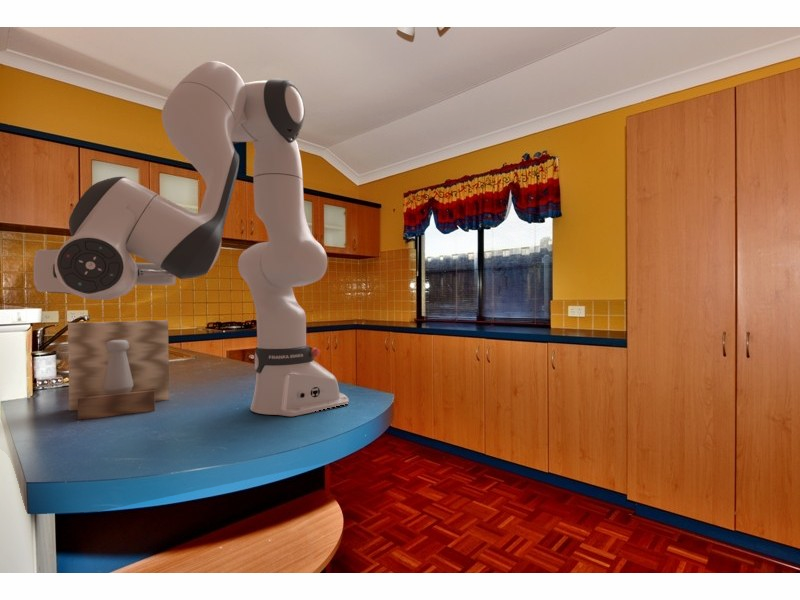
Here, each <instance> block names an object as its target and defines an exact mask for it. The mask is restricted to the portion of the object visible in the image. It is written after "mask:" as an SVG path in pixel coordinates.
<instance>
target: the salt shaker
mask: <svg viewBox="0 0 800 600" xmlns="http://www.w3.org/2000/svg"><path fill="white" fill-rule="evenodd" d="M128 348H129V343H128V341H126V340H112V341H109V342H107V345H106V349H107V351H110V355H109V360H108V365H107V370H106V375H105V380H104V384H103V389H104V391H105V393H106V395H112V394H121V393H130V392H131V390H132V388H133V380H132V375H131V371H130V367H129V363H128V358H127V354H126V350H127V349H128Z"/></svg>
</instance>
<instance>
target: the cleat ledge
mask: <svg viewBox="0 0 800 600" xmlns="http://www.w3.org/2000/svg"><path fill="white" fill-rule="evenodd" d="M155 410H156V401H155V389H151V390H141V391H131V392H130V393H121V394H112V395H106V394H102V395H92V396H85V397H82V398H78V410H77V420H78V421H82V420H81V419H83V420H90V418H91V419H97V418H105V417H107V418H108V417H115V416H120V415H121V416H122V415H123V416H124V415H130V414H131V415H132V414H138V413H146V412H147V413H148V412H154V411H155Z"/></svg>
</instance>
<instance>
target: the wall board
mask: <svg viewBox="0 0 800 600" xmlns="http://www.w3.org/2000/svg"><path fill="white" fill-rule="evenodd" d="M112 340H126V341H128V343H129V348H128V349H127V350H126V354H127V358H128V363H129V367H130V371H131V375H132V380H133V388H132V390H131V391H141V390H151V389H155V402H159V401H168V400H170V364H169V361H170V359H169V358H170V357H169V354H170V353H169V346H170V345H169V319H163V320H162V319H161V320H160V319H159V320H132V321H130V320H128V321H125V320H124V321H99V322H98V321H95V322H94V321H93V322H69V323H67V342H68V343H67V345H68V346H67V349H68V351H67V353H68V359H67V361H68V410H69V412H70V411H78V398H82V397H85V396H92V395H102V394H106V393H105V391H104V389H103V384H104V380H105V375H106V370H107V365H108V360H109V355H110V351H107V349H106V345H107V342H109V341H112Z"/></svg>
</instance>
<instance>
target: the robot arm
mask: <svg viewBox="0 0 800 600" xmlns="http://www.w3.org/2000/svg"><path fill="white" fill-rule="evenodd" d="M242 78H243V77H242V76H241V75H240V74H239V73H238V72H237V71H236V70H235V69H234V68H233V67H232V66H229V65H228V64H227V63H224V62H221V61H217V60H216V61H215V60H211V61H207V62H204V63H202V64H201V65H199V66H197V67H195V68H194V69H193V70H192V71H190V72H189V73H188V74H187V75H186V76H184V77H183V78H182V79H181V81H179V83H178V84H177V85H176V86H175V87H174V88H173V90H172V91H171V93H170V94H169V96H168V97H167V99H166V101H165V102H164V104H163V107H162V109H161V121H162V125H163V129H164V132H165V134H166V136H167V139H168V140H169V141H170V143H171V144H172V147H174V149H176V151H177V152H179V154H181V155H182V157H184V159H186V160H187V162H189V163H190V164H191V165H192V167H194V169H195V170H196V171H197V172H198V174H200V176H201V177H202V179H203V181H204V183H205V192H204V195H203V199H202V201H201V206H200V209H199V211H198V213H197V212H192V211H189V210H188V209H186V208H184V207H182V206H180V205H178V204H176V203H175V202H173V201H171V200H169V199H167V198H165V197H163V196H162V195H159V193H157V192H155V191H153V190H151V189H150V188H148V187H146V186H143V185H142V184H140V183H138V182H137V181H134V180H132V179H130V178H128V177H126V176H115V177H109V178H106V179H103V180H101V181H98V182H95V183H93V184H92V185H91V186H90V187H88V188H87V190H85V192H84V193H83V194H82V196H81V197H80V199H79V200H78V201H77V203H76V204H75V206H74V208H73V210H72V212H71V215H70V217H69V220H68V228H69V234H70V236H71V237H70V238H69V239H67V240H66V241H65V242H64V243H63V244H62V245H61V246H60V248H47V249H37V250H36V251H35V256H34V258H33V286H35V288H36V291H37V292H38V293H39V292H40V293H44V292H45V293H53V294H56V293H57V294H67V295H76V296H79V297H81V298H84V299H88V300H95V301H99V300H100V301H102V300H103V301H104V300H115V299H119V298H121V297H123V296H125V295H127V294H128V293H130V292H131V291H132V290H133V289H134V287H135V286H174V285H176V284H177V283H176V279H177V278H178V279H180V280H186V279H187V280H188V279H194V278H199V277H202V276H205V275H207V274H208V272H209V271H211V269H212V268H213V267H214V265H215V264H216V262H217V261H218V258H219V256H220V252H221V248H222V242H223V241H222V237H223V233H224V228H225V223H226V219H227V216H228V211H229V208H230V204H231V201H232V198H233V197H232V196H233V193H234V190H235V185H236V181H237V176H238V172H239V166H240V154H239V153H238V152H237V150H236V148H235V146H234V144H239V143H249V142H250V143H251V142H252V145H253V147H254V156H253V168H252V169H253V170H252V171H253V172H252V173H253V176H252V177H253V199H254V200H253V201H254V213H255V215H256V216H257V217H258V218H259V219H260V220H261V222H262V224H263V225H264V226H265V230H266V234H267V237H268V241H264V242H259V243H255V244H252V245H251V246H249V247H248V248H246V249H245V250H243V252H242V253H241V254H240V255H239V258H238V262H237V268H238V272H239V275H240V277H241V278H242V279H243V281H245V282H246V285H247V286H248V288H249V291H250V294H251V298H252V301H253V305H254V310H255V316H256V339H257V341H256V342H257V343H256V347H255V351H254V352H255V353H254V369H255V372H256V376H255V377H256V378H255V384H254V385H255V386H254V390H253V391H254V392H253V396H252V402H251V404H250V407H249V408H250V411H251V412H253V413H256V414H262V415H275V416H277V415H278V416H283V417H284V416H285V417H295V416H302V415H305V414H312V413H316V412H320V411H319V410H321V411H324V410H323V409H325V410H328V409H327V408H330V409H332V408H331V407H335V408H337V407H336V406H340V405H344V406H346V405H345V404H348V405H349V403H348V402H350V400H349V398H348V396H347V395H345V394H344V393H343V392H340V388H339V384H338V383H339V382H338V379H337V378H336V376H335V375H334V374H333V373H332V372H330V371H329V370H327V369H326V368H325V367H323V365H321V364H319V363H318V362H317V361H315V360H314V359H315V358H318V357H320V355H321V353H322V351H321V349H320V348H319V347H318V348H317V347H311V346H309V345H307V315H306V311H305V309H303V308H302V306H301V305H299V302H298V301H297V299H296V296H295V294H294V289H293V287H295V288H296V287H304V286H307V285H310V284H311V285H312V284H313V283H316V282H318V281H320V280H321V279H322V278H323V277H324V276H325V274H326V272H327V270H328V255H327V253H326V250H325V248H324V247H323V246H322V244H321V243H319V241H317V240H316V239H315V237H314V235H313V234H312V232H311V229H310V227H309V224H308V221H307V217H306V212H305V211H306V210H305V198H304V196H305V195H304V178H303V177H304V174H303V165H302V157H301V153H300V149H299V145H298V142H297V139H298V137H299V135H300V131H301V130H302V127H303V124H304V121H305V117H306V116H305V115H306V113H305V112H306V111H305V103H304V100H303V97H302V94H301V93H300V91H299V89H298V87H296V85H294V84H293V82H292V81H290V80H288V79H285V78H274V77H273V78H269V79H268V80H257V81H256V80H255V81H250V82H244V79H242ZM132 255H134V256H136V257H138V258H140V259H142V260H145V261H147V262H136V260H135V259H134V258H133V256H132ZM340 407H341V406H340ZM315 411H316V412H315Z"/></svg>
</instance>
